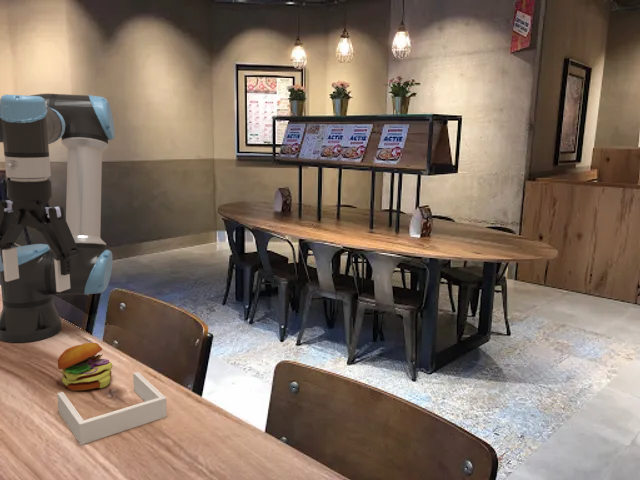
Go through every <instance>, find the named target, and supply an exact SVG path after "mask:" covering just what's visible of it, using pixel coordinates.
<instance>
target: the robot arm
mask: <svg viewBox="0 0 640 480" xmlns="http://www.w3.org/2000/svg"><path fill="white" fill-rule="evenodd" d="M115 129H116V128H115V122H114V117H113V111H112V107H111V105H110V103H109V100H108V99H106V98H105V97H104V96H99V95H97V96H95V95H91V94H88V95H85V94H84V95H83V94H65V93H64V94H62V93H38V94H37V93H36V94H31V95H22V94H20V95H19V94H3V95H2V96H1V97H0V143H2V144H3V145H2V146H3V156H4V166H5V167H4V168H5V176H6V177H7V178H8V180H7V181H6V190H7V191H6V192H7V198H8V199H6V200H1V201H0V287H1V288H0V291H1V299H2V310H1V313H0V340H1V341H2V342H7V343H30V342H36V341H40V340H44V339H48V338H51V337H53V336H55V335H57V334H58V333H60V332H61V330H62V328H63V327H62V319H61V317H60V315H59V312H58V311H57V308H56V306H55V303H54V299H53V295H55V296H56V295H57V296H59V295H62V296H63V295H87V296H88V295H93V294H102V293H103V292H105V291H106V290H107V288H108V285H109V284H110V280H111V276H112V270H113V262H114V261H113V253H112V251H111V250H109V249H107V243H106V242H105V241H104V240H103V239H102V238H101V226H102V224H101V216H102V174H103V172H102V170H103V169H102V166H103V152H104V151H106V149H108V147H109V141H112V140H114V139H115V134H116V131H115ZM60 139H61V144H62V145H63V146H64V147H65V149H67V160H66V161H67V162H66V164H67V166H66V167H67V168H66V170H67V171H66V198H65V199H66V202H65V203H66V205H65V206H66V207H65V208H66V209H65V210H64V207H63V206H62V205H59V206H58V205H57V206H50V202H49V201H50V200H51V199H52V197H53V188H52V180H50V179H49V178H51V176H52V173H51V172H52V171H51V161H50V160H51V159H50V148H49V147H50V146H49V145H51V144H52V143H53V144H54V143H55V142H57V141H58V140H60ZM64 211H65V212H64ZM26 227H29V228H31V229H35V230H36V231H37V232H40V233H41V235H42V236H43V237H44V240H45V241H46V242H47V244H46V243H35V244H34V243H33V244H27V245H22V246H18V247H16V246H17V245H16V244H15V243H16V242H17V240H18V239H19V237H20V235H21V233H22V232H23V231H24V229H25V228H26Z"/></svg>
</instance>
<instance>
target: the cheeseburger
mask: <svg viewBox="0 0 640 480" xmlns="http://www.w3.org/2000/svg"><path fill="white" fill-rule="evenodd" d="M102 351H103V347H101V345H100V344H98V343H97V342H85V343H82V344H77V345H73V346H71V347H69V348H67V349H64V351H63V352H62V353H61V354H60V356H59V357H58V359H57V369H58V370H62V371H61V373H62V374H63V375H62V378H61V381H62V383H63V385H64V386H66V387H67V389H68V390H72V391H86V390H92V389H98V388H99V389H103V388H106V387H107V386H109V384H110V383H111V378H112V373H113V372H112V369H113V363H112V362H111V361H110V360H109V359H107V358H102V357H103V356H104V355H103V354H104V353H101V352H102ZM98 353H101V354H98Z"/></svg>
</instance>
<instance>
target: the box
mask: <svg viewBox="0 0 640 480" xmlns="http://www.w3.org/2000/svg"><path fill="white" fill-rule="evenodd" d="M132 376H133V377H132V379H133V381H132V382H133V391H134V392H135V393H136V394H137V395H138V396H139V397H140V398H141V399H142V400H143V402H140V403H136V404H134V405H129V406H126V407H124V408H121V409H117V410H114V411H110V412H107V413H104V414H100V415H97V416H94V417H90V418H87V419H85V420H84V418H83V417H82V416H81V414H80V413H79V412H78V410H77V409H76V408H75V407H74V405H73V404H72V402H71V401H70V400H69V398H68V396H66V394H65V393H64V392H63V391H60V392H57V409H58V413H59V415H60V416H61V418H62V420H63V421H64V423H65V424H66V425H67V427H68V428H69V430H70V431H71V433H72V434H73V435H74V437H75V439H76V440H77V442H78V444H79V445H80V446H82V445H85V444H86V445H87V444H88V443H91V442H95V441H97V440H101V439H103V438H107V437H109V436H113V435H115V434H119V433H121V432H122V433H123V432H125V431H127V430H128V431H129V430H130V429H134V428H136V427H139V426H143V425H146V424H149V423H151V422H155V421H159V420H160V419H164V418H167V397H166V396H165V395H164V394H162V393H161V392H160V390H158V389H157V388H156V387H155V386H154V385H153V384H152V383H151V382H149V381H148V380H147V378H145V376H143V375H142V374H141V373H140V372H139V371H135V372H133V374H132Z"/></svg>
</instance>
